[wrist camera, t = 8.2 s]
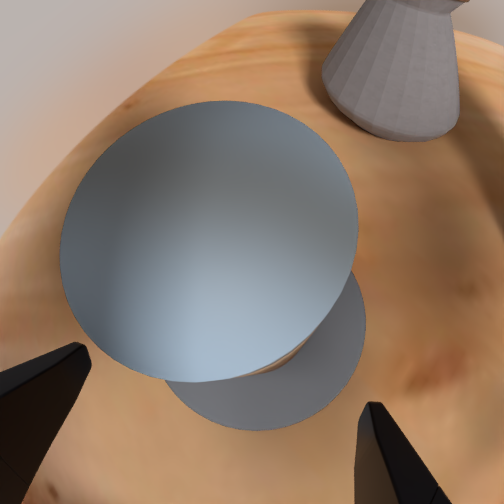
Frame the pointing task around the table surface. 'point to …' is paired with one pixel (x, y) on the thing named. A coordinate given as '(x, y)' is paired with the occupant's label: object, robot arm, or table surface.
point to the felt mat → (288, 375)
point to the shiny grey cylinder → (209, 242)
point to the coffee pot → (397, 69)
